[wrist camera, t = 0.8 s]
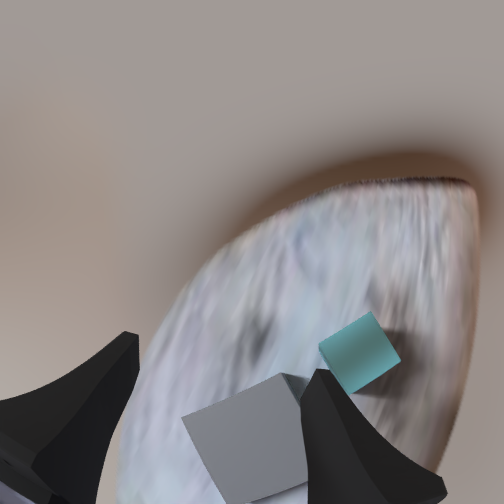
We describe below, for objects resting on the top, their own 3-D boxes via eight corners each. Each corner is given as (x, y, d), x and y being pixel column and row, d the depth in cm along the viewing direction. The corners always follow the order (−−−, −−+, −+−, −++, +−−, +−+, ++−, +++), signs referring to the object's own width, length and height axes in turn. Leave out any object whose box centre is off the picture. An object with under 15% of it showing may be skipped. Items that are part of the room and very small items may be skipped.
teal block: (384, 365, 23) (401, 360, 18) (342, 391, 23) (348, 395, 18) (360, 325, 25) (370, 311, 20) (318, 351, 25) (318, 343, 20)
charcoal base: (333, 461, 20) (334, 468, 18) (236, 498, 20) (229, 507, 18) (283, 373, 25) (280, 372, 23) (192, 415, 25) (181, 417, 23)
